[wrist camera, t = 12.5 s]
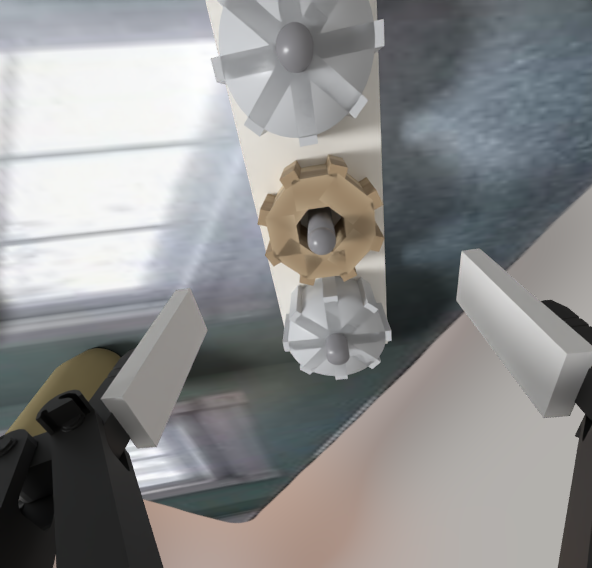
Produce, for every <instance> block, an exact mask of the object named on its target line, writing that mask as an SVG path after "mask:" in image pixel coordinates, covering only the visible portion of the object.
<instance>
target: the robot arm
mask: <svg viewBox="0 0 592 568" xmlns="http://www.w3.org/2000/svg"><path fill="white" fill-rule="evenodd" d="M456 301H457V302H458V303H459V305H460V306H461V308H462V309H463V310H464V312H465V313H466V314H467V316H468V317H469V318H470V320H471V321H472V322H473V324H474V325H475V326H476V328H477V329H478V330H479V332H480V333H481V334H482V335H483V337H484V338H485V340H486V341H487V342H488V344H489V345H490V347H491V348H492V349H493V351H494V352H495V353H496V355H497V356H498V357H499V359H500V360H501V361H502V363H503V364H504V365H505V367H506V368H507V369H508V371H509V372H510V373H511V375H512V376H513V378H514V379H515V380H516V382H517V383H518V384H519V386H520V387H521V388H522V390H523V391H524V392H525V394H526V395H527V396H528V398H529V399H530V400H531V402H532V403H533V404H534V406H535V407H536V408H537V410H538V411H539V413H540V414H541V415H542V416H543V418H549V417H562V416H570V414H571V412H572V410H573V407H574V405H575V403H576V404H577V405H578V406H579V407H580V409H581V410H582V411H583V412H584V413H585V416H584V418H583V420H582V422H581V424H580V426H579V428H578V430H577V433H576V435H575V436H576V437H578V438H579V442H578V448H577V454H576V460H575V467H574V473H573V479H572V485H571V491H570V497H569V503H568V509H567V515H566V521H565V528H564V533H563V539H562V545H561V551H560V557H559V564H558V568H592V327H591V326H590V327H589V325H588V324H587V323H586V322H585V321H584V320H582V319H579V317H578V316H577V315H576V314H575V313H574V312H572V311H571V310H570V309H569V308H567V307H565V306H563V305H561V304H559V303H556V302H554V301H552V300H545V301H540V300H539V299H537V298H536V297H535V296H534V295H533V294H532V293H530V292H529V291H528V290H527V289H525V287H523V286H522V285H521V284H520V283H519V282H518V281H516V280H515V279H514V278H513V277H512V276H511V275H509V274H508V273H507V272H506V271H505V270H504V269H503V268H501V267H500V266H499V265H498V264H497V263H496V262H494V261H493V260H492V259H491V258H490V257H489V256H488V255H486V254H485V253H484V252H483V251H482V250H481V249H472V250H465V251H462V253H461V262H460V271H459V281H458V290H457V299H456ZM206 332H207V328H206V326H205V323H204V321H203V318H202V316H201V313H200V311H199V309H198V306H197V304H196V301H195V299H194V296H193V294H192V291H191V289H190V288H188V289H180V290H176V291H175V292H174V294H173V295H172V297H171V298H170V299H169V301H168V302H167V304H166V305H165V307H164V308H163V310H162V311H161V312H160V314H159V315H158V317H157V318H156V320H155V321H154V322H153V324H152V325H151V327H150V328H149V330H148V331H147V333H146V334H145V335H144V337H143V338H142V340H141V341H140V343H139V344H138V346H137V347H136V348H135V349H130V350H129V351H128V352H127V353H126V354H125V355H123V356H122V357H121V358H120V359H119V360H118V362H117V363H116V365H115V366H114V367H113V370H111V372H110V373H109V374H108V376H107V378H105V380H104V381H103V383H102V384H101V385H100V387H99V388H98V389H97V391H96V392H95V394H94V395H93V396H92V398H91V399H90V400H89V402H88V401H87V399H86V398H85V397H84V395H83V394H82V393H81V392H80V391H79V390H70V391H66V392H64V393H61V394H59V395H57V396H56V397H54V398H53V399H51V400H50V401H48V402H47V403H46V404H45V405H44V406H43V407H42V408H41V409H40V411H39V412H38V413H37V416H36V419H35V420H36V421H37V422H38V423H39V424H40V425H41V426H42V427H43V428H44V429H45V430H46V431H47V432H45V433H42V434H39V435H36V436H34V437H32V436H31V435H30V434H29V433H28V432H27V431H26V430H25V429H17V430H14V431H11V432H9V433H7V434H5V435H3V436H1V437H0V568H53V564H54V560H55V555H56V566H57V568H163V565H162V562H161V558H160V555H159V552H158V548H157V545H156V542H155V538H154V535H153V532H152V528H151V525H150V522H149V519H148V515H147V512H146V509H145V505H144V502H143V499H142V495H141V492H140V489H139V486H138V482H137V479H136V476H135V472H134V469H133V466H132V462H131V459H130V456H129V453H128V452H127V451H126V449H125V448H126V446H127V444H128V442H129V440H130V439H131V441H132V442H133V443H134V445H135V446H136V447H137V448H149V447H157V445H158V443H159V440H160V438H161V436H162V433H163V431H164V429H165V426H166V424H167V422H168V420H169V417H170V415H171V413H172V410H173V408H174V406H175V404H176V401H177V399H178V397H179V394H180V392H181V390H182V387H183V385H184V383H185V381H186V378H187V376H188V374H189V371H190V369H191V367H192V364H193V362H194V360H195V358H196V355H197V353H198V351H199V348H200V346H201V344H202V342H203V339H204V337H205V335H206Z"/></svg>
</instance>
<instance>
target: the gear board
mask: <svg viewBox="0 0 592 568" xmlns="http://www.w3.org/2000/svg"><path fill="white" fill-rule="evenodd" d="M205 1H206V5H207V9H208V13H209V17H210V21H211V25H212V30H213V34H214V38H215V42H216V46H217V50H218V54H219V57H215V58H211V61H212V65H213V69H214V73H215V77H216V81H217V82H218V83H222V84H226V87H227V92H228V96H229V100H230V104H231V108H232V112H233V116H234V121H235V125H236V129H237V133H238V137H239V141H240V145H241V149H242V154H243V158H244V162H245V166H246V170H247V174H248V178H249V182H250V187H251V191H252V195H253V199H254V203H255V207H256V211H257V216H258V219H259V213H260V208H261V206H262V204H263V202H264V200H265V198H266V196H267V194H271V195H275V196H276V195H277V193H278V192H279V190H280V189H281V187H282V186H283V185H282V183H281V182H280V177H281V175H282V172H283V170H284V168H285V167H287V166H288V165H290V164H291V163H293V162H294V161H296V160H297V162H298V163H299V165H300V167H301V168H303V167H309V166H315V165H320V164H326V160H327V156H328V154H329V155H333V156H337V157H341V158H343V160H344V162H345V163H346V165H347V167H348V170H347V173H348V174H349V175H350V176H352V177H353V178H354V179H356V180H357V181H358V182H359V181H361V180H363V179H364V178H366V177H367V178H368V180H369V181H370V182H371V184H372V185H373V186H374V188H375V189H376V190H377V192H378V194H379V196H380V198H381V200H382V202H383V183H382V152H381V121H380V89H379V58H378V51H379V50H380V49H381V48H382V47H384V19H381V20H377V0H205ZM374 212H375V221H376V223H377V225H378V227H379V229H380V230H381V232H382V234H383V236H384V214H383V205H382V206H381V207H379V208H377V209H375V210H374ZM340 219H341V215H339V214H338V213H337V212H335V211H334V210H332V209H331V208H330V207H322V208H315V209H309V210H307V212H306V213H305V214H304V216H303V217H302V218H301V220H300V221H301V224H302V225H303V226H305V227H306V228H307V229H308V246H309V248H310V250H311V251H312V252H313V253H315V254H317V255H326V254H328V253H330V252H331V251H332V250H333V249H334V247H335V245H336V236H335V230H334V226H335V225H336V224H337V222H338V221H339V220H340ZM260 228H261V232H262V236H263V240H264V244H265V249H266V250H267V247H268V244H269V241H270V238H269V233H268V229H267V227H266V226H262V225H260ZM268 261H269V260H268ZM269 265H270V269H271V273H272V278H273V282H274V286H275V290H276V294H277V298H278V302H279V306H280V311H281V315H282V319H283V323H284V335H283V345H284V349H285V352H286V351H290V352H291V353H292V355H293V356H294V358H295V359H296V360H297V361H298V362H299V363H300V370H302V371H304V372H306V373H308V374H311V373H312V372H316V373H319V374H323V375H329V376H335V378H336V380H337V379H348V377H347V375H348V374H353V373H356V372H358V371H361V370H363V369H365V368H366V367H370V368H372V369H373V368H374V367H375V366H376V365H378V364H379V363H380V362H381V360H380V357H379V356H380V354H381V353H382V351H383V348H384V346H385V344H388V341H391V329H390V326H389V323H388V320H387V308H386V277H385V246H384V241H383V244H382V246H381V249H380V251H379V252H377V251H372V250H370V251H369V252H368V253H367V254H366V255H365V256H364V257H363V259H362V260H361V261H360V262H359V263H358V264H357V265H356V266H355V269H356V272H357V276H355V277H353V278H351V279H349V280H347V281H345V282H344V281H343V279H342V278H341V276H340V275H339V276H331V277H324V278H316V279H315V282H314V285H313V286H312V285H307V284H302V283H299V281H300V274H298V273H297V272H295V271H294V270H292V269H290V268H289V267H287V266H286V265H284V264H283V263H279V264H277V265H276V266H273V265H272V264H271V262H270V261H269Z"/></svg>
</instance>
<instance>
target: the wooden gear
mask: <svg viewBox="0 0 592 568" xmlns="http://www.w3.org/2000/svg"><path fill="white" fill-rule="evenodd" d="M347 170H348V167H347V165H346V163H345V162H344V160H343V158H341V157H337V156H333V155H329V154H328V156H327V160H326V164H320V165H315V166H309V167H303V168H301V167H300V165H299V163H298V162H297V160H296V161H294V162H293V163H291V164H290V165H288V166H287V167H285V168H284V170H283V172H282V175H281V177H280V182H281V183H282V185H283V186H282V187H281V189H280V190H279V192H278V193H277V195H276V196H275V195H271V194H267V196H266V198H265V200H264V202H263V204H262V206H261V208H260V213H259V219H258V225H262V226H266V227H267V229H268V233H269V238H270V241H269V244H268V247H267V250H266V254H265V256H266V257H267V258H268V260H269V261H270V262H271V264H272V265H273V266H276V265H277V264H279V263H283V264H284V265H286V266H287V267H289V268H290V269H292V270H294V271H295V272H297V273H298V274H300V281H299V283H302V284H307V285H312V286H313V285H314V282H315V279H316V278H324V277H331V276H339V275H340V276H341V278H342V279H343V281H344V282H345V281H347V280H349V279H351V278H353V277H355V276H357V272H356V269H355V266H356V265H357V264H358V263H359V262H360V261H361V260H362V259H363V257H364V256H365V255H366V254H367V253H368V252H369V251H370V250H372V251H377V252H379V251H380V249H381V246H382V244H383V241H384V239H385V238H384V236H383V234H382V232H381V230H380V229H379V227H378V225H377V223H376V221H375V212H374V210H375V209H377V208H379V207H381V206H382V205H383V202H382V200H381V198H380V196H379V194H378V192H377V190H376V189H375V188H374V186H373V185H372V184H371V182H370V181H369V180H368V178H367V177H366V178H364V179H363V180H361V181H359V182H358V181H357V180H356V179H354V178H353V177H352V176H350V175H349V174H348V173H347ZM322 207H330V208H331V209H332V210H334V211H335V212H337V213H338V214H339V215H341V219H340V220H339V221H338V222H337V224H336V225H335V226H334V230H335V236H336V245H335V247H334V249H333V250H332V251H331V252H330V253H328V254H326V255H317V254H315V253H313V252H312V251H311V250H310V248H309V246H308V229H307V228H306V227H305V226H303V225H302V224H301V221H300V220H301V218H302V217H303V216H304V214H305V213H306V212H307V210H309V209H315V208H322Z"/></svg>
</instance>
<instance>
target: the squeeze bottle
mask: <svg viewBox="0 0 592 568" xmlns="http://www.w3.org/2000/svg"><path fill="white" fill-rule="evenodd" d="M120 358H121V357H120V356H119V355H117V354H116V353H114V352H112V351H109V350H107V349H101V348H94V349H89V350H87V351H85V352H83V353H81V354H79V355H78V356H76V357H74V358H72V359H70V360H68V361H67V362H65V363H63V364H62V365H60V366H59V367H58V368H56V369H55V371H54V372H53V373H52V374H51V376H50V377H49V378H48V380H47V381H46V382H45V383H44V385H43V386H42V387H41V389H40V390H39V391H38V392H37V394H36V395H35V396H34V397H33V399H32V400H31V401H30V403H29V404H28V405H27V406H26V408H25V409H24V410H23V412H22V413H21V414H20V415H19V417H18V418H17V419H16V421H15V422H14V423H13V424H12V426H11V427H10V428H9V430H8V431H7V432H6V433H5V434H7V433H9V432H11V431H14V430H17V429H25V430H26V431H27V432H28V433H29V434H30V435H31V436H32V437H34V436H36V435H39V434H42V433H45V432H47V431H46V430H45V429H44V428H43V427H42V426H41V425H40V424H39V423H38V422H37V421H36V420H35V419H36V416H37V413H38V412H39V411H40V409H41V408H42V407H43V406H44V405H45V404H46V403H47V402H48V401H50V400H51V399H53V398H54V397H56V396H57V395H59V394H61V393H64V392H66V391H70V390H79V391H80V392H81V393H82V394H83V395H84V397H85V398H86V399H87V401H88V402H89V400H90V399H91V398H92V396H93V395H94V394H95V392H96V391H97V389H98V388H99V387H100V385H101V384H102V383H103V381H104V380H105V378H107V376H108V374H109V373H110V372H111V370H113V367H114V366H115V365H116V363H117V362H118V360H119V359H120Z"/></svg>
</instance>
